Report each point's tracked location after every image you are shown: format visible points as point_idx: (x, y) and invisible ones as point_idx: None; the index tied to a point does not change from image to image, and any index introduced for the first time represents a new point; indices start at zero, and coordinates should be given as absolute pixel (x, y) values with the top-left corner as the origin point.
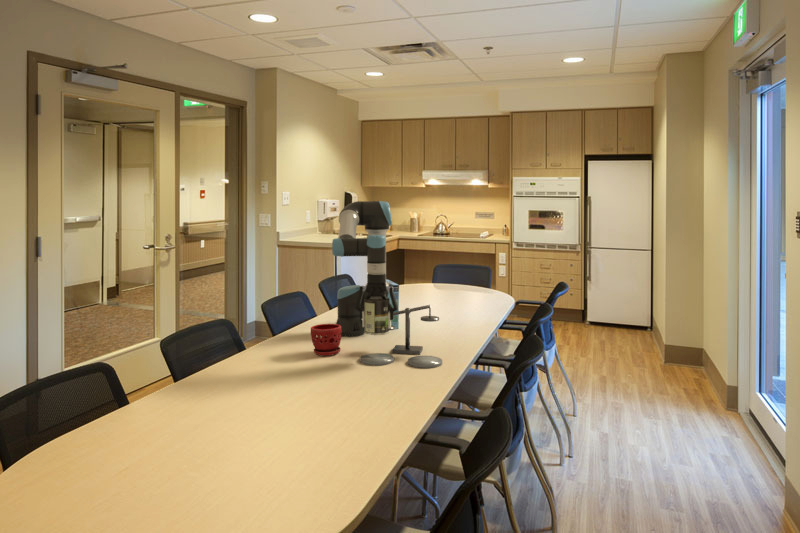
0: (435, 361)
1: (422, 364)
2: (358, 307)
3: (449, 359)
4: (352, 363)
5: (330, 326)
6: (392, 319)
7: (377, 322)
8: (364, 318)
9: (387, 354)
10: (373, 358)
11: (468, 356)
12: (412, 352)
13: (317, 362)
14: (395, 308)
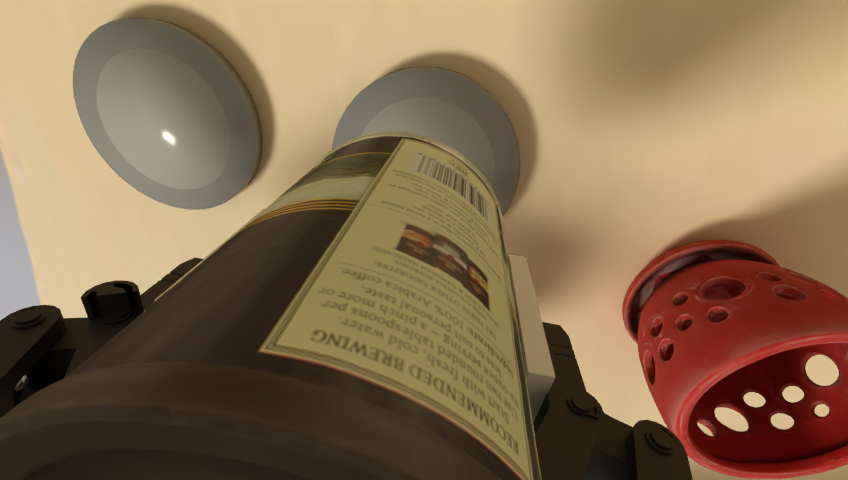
0: (105, 101)
1: (150, 36)
2: (634, 448)
3: (90, 187)
4: (563, 109)
5: (727, 456)
6: (191, 260)
7: (344, 171)
8: None
9: None
10: None
11: (33, 230)
12: None
13: (783, 127)
14: (13, 331)
